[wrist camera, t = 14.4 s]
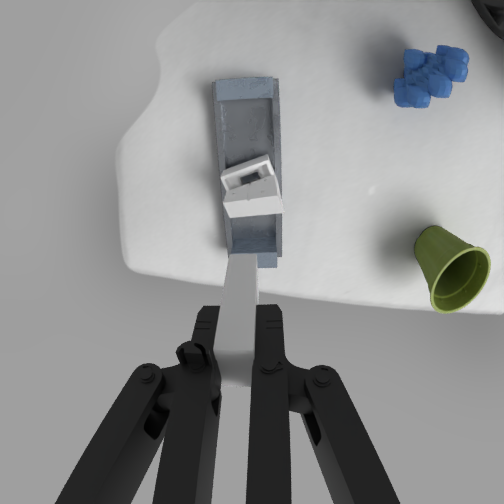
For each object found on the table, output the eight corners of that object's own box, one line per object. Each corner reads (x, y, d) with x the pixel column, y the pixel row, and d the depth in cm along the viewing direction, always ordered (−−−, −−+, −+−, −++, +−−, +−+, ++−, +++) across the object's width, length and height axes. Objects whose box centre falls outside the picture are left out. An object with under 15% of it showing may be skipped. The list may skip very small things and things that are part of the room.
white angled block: (314, 175, 31) (284, 213, 25) (246, 186, 37) (207, 220, 31) (305, 146, 29) (270, 176, 23) (235, 161, 35) (193, 192, 30)
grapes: (404, 30, 23) (454, 16, 13) (436, 64, 25) (491, 64, 15) (361, 81, 28) (405, 79, 18) (397, 115, 30) (447, 129, 20)
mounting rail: (215, 83, 29) (208, 81, 25) (277, 79, 29) (280, 76, 25) (229, 249, 42) (226, 268, 38) (280, 248, 42) (283, 267, 37)
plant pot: (445, 199, 36) (486, 232, 26) (460, 248, 41) (493, 284, 31) (391, 238, 40) (422, 281, 31) (413, 282, 45) (439, 325, 35)
